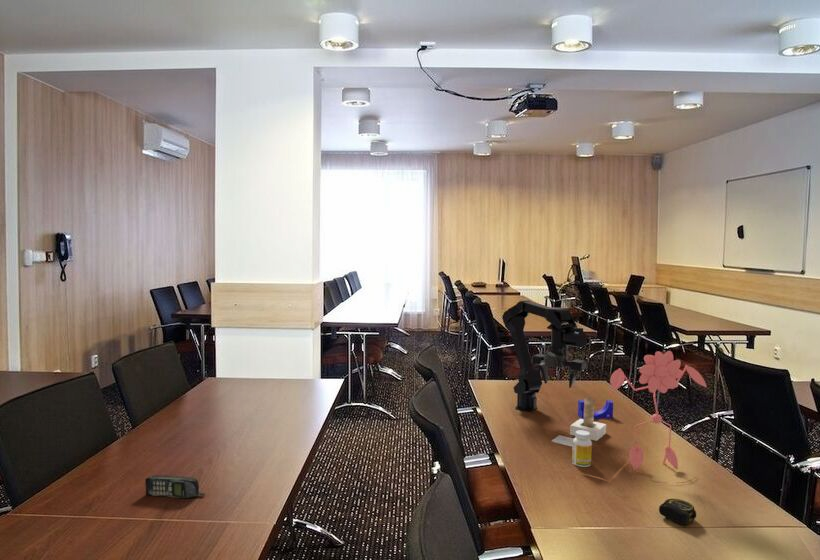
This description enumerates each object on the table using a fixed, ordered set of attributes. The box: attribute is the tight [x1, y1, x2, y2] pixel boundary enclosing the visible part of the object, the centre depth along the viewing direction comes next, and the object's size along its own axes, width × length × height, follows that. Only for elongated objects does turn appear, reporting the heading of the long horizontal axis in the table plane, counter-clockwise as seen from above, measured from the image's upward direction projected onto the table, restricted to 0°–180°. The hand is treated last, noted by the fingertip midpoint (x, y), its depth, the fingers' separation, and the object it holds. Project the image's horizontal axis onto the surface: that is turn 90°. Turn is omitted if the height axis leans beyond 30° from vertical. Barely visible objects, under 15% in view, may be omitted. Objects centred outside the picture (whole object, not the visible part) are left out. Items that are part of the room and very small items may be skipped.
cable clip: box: [577, 399, 614, 420], centre depth 201 cm, size 12×4×6 cm, turn 90°
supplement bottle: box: [571, 430, 593, 468], centre depth 158 cm, size 5×5×10 cm
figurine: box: [609, 350, 707, 484], centre depth 152 cm, size 15×26×35 cm, turn 89°
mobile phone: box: [144, 474, 206, 499], centre depth 137 cm, size 5×3×15 cm
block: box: [569, 418, 607, 442], centre depth 183 cm, size 9×9×4 cm
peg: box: [583, 396, 595, 428], centre depth 182 cm, size 3×3×12 cm
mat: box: [550, 434, 574, 447], centre depth 176 cm, size 8×7×1 cm
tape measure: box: [658, 498, 697, 527], centre depth 128 cm, size 7×7×4 cm
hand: (557, 385), depth 196 cm, fingers open, 9 cm apart
